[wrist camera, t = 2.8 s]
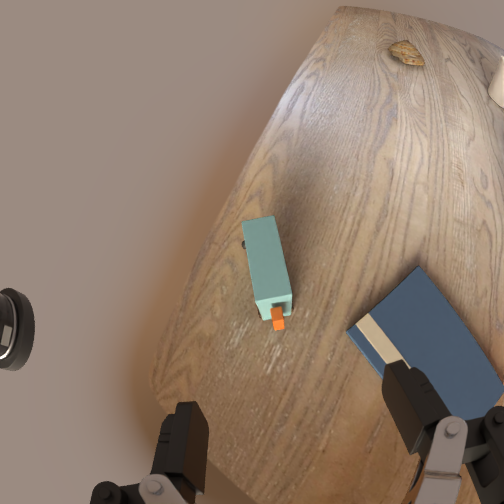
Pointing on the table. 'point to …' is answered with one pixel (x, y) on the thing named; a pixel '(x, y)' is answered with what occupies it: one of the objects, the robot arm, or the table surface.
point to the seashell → (406, 53)
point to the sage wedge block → (268, 270)
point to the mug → (498, 84)
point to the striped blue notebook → (429, 345)
